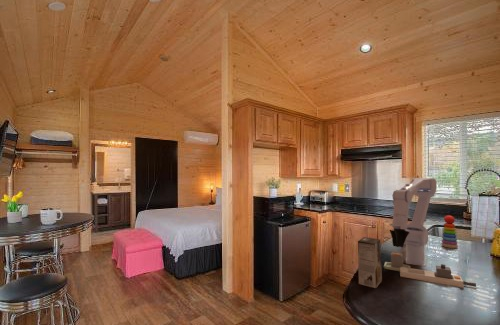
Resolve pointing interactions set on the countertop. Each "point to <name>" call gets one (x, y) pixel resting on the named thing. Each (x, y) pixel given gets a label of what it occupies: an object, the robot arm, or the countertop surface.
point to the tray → (388, 266)
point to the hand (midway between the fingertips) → (397, 246)
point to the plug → (396, 260)
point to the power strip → (433, 277)
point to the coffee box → (369, 262)
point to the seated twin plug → (443, 271)
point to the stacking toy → (449, 233)
